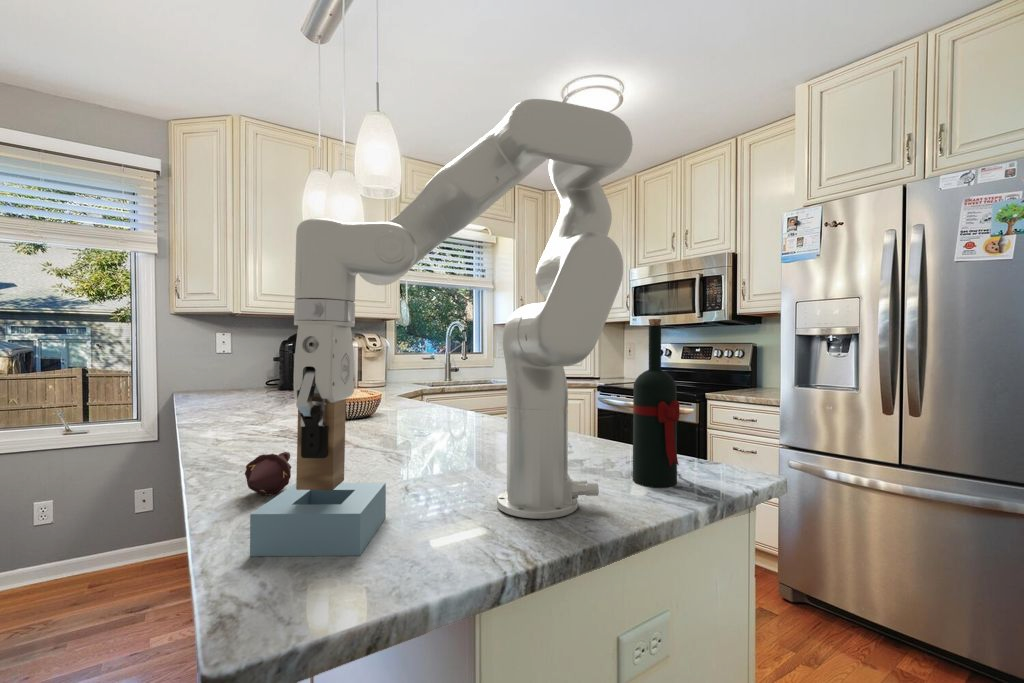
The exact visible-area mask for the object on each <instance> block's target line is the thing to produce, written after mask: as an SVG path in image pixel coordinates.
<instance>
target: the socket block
mask: <svg viewBox="0 0 1024 683" xmlns="http://www.w3.org/2000/svg"><path fill="white" fill-rule="evenodd" d="M386 485H387V483H386V482H342V483H340V484H339V485H338V486H337V487H336V488H335V489H333V490H296V483H294V484H292V485H291V486H290V487H288V488H286V489H285V490H284V491H281V493H278V494H277V495H276V496H275V497H274V498H272V499H271V500H269V501H267V502H266V503H264V504H263V505H261V506H260V507H259V508H257V509H255V510H254V511H253V512H251V513H250V516H249V557H313V556H314V557H316V556H317V557H318V556H319V557H321V556H322V557H323V556H326V557H329V556H330V557H331V556H335V557H337V556H338V557H340V556H343V557H345V556H347V557H348V556H361V555H362V553H363V552H364V550H365V549H366V547H367V546H368V544H369V543H370V541H371V540H372V538H373V536H374V535H375V533H377V531H378V529H379V528H380V526H381V525H382V523H383V522H384V521H385V518H386V516H387V513H386V511H387V509H386V508H387V507H386V506H387V505H386V503H387V502H386V501H387V500H386V498H387V494H386V492H387V491H386V488H387V486H386Z"/></svg>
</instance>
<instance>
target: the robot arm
mask: <svg viewBox="0 0 1024 683" xmlns="http://www.w3.org/2000/svg"><path fill="white" fill-rule="evenodd" d="M633 145H634V144H633V135H632V132H631V130H630V129H629V126H628V125H627V124H626V122H625V121H624V120H622V119H621V117H619V116H617V115H616V114H614V113H611V112H609V111H607V110H602V109H598V108H592V107H588V106H585V105H580V104H579V105H578V104H573V103H569V102H566V101H565V102H564V101H558V100H553V99H545V98H529V99H525V100H521V101H520V102H517V103H516V104H514V106H513V107H512V108H511V109H510V110H509V111H508V113H507V114H506V115H505V116H504V117H503V118H502V120H501V121H500V122H499V123H498V124H497V125H495V127H494V128H493V129H491V130H490V131H488V132H487V133H486V134H485V135H484V136H483V137H480V138H479V139H478V140H477V141H476V142H474V144H472V145H471V146H470V147H468V148H467V149H466V150H464V151H463V152H462V153H461V154H460V155H458V156H457V157H456V158H454V159H453V160H452V161H450V162H448V163H447V164H446V165H445V166H444V167H442V168H441V169H440V170H439V171H438V172H437V173H436V174H434V176H433V177H432V178H431V179H430V180H429V181H428V182H427V183H426V184H425V186H424V188H422V189H421V191H420V192H419V193H418V195H416V197H414V199H413V200H412V201H411V202H410V203H409V204H408V205H406V207H404V208H403V209H402V210H401V211H400V212H399V213H398V214H396V215H395V216H394V217H393V218H391V220H389V221H376V222H373V221H372V222H343V221H339V220H337V219H336V220H335V219H330V218H310V219H309V218H308V219H305V220H303V221H300V223H299V224H298V226H297V227H296V231H295V233H296V234H295V268H294V269H295V272H294V274H295V275H294V307H293V308H294V309H293V310H294V311H293V312H294V313H293V325H294V326H297V331H296V341H295V352H294V363H293V366H294V367H293V394H294V399H295V400H296V408H297V410H298V409H299V411H300V415H301V427H302V431H301V457H302V458H326V457H327V456H328V428H329V426H325V424H326V416H327V405H328V404H327V401H328V402H329V403H335V402H338V401H341V400H344V399H346V400H347V399H349V398H351V397H352V396H353V394H354V392H355V371H354V370H355V368H354V366H355V365H354V362H355V360H354V344H353V333H352V328H354V327H355V326H356V325H355V323H356V322H355V321H356V320H355V319H356V279H357V278H356V277H357V275H359V277H360V278H362V279H363V280H364V281H365V282H367V283H369V284H371V285H374V286H388V285H391V284H393V283H395V282H396V281H397V280H399V279H400V278H401V277H404V275H406V274H407V273H408V272H410V270H412V268H413V267H415V265H417V263H419V262H420V261H421V260H422V259H424V258H425V257H426V256H427V255H428V254H430V253H431V252H432V251H433V250H435V249H436V248H437V247H439V245H440V244H442V243H443V242H444V241H446V240H448V239H449V238H450V237H452V236H454V235H455V234H457V233H458V232H460V231H462V230H463V229H465V228H466V227H468V226H469V225H470V224H471V223H473V222H474V221H475V220H476V219H478V218H479V217H480V216H482V214H484V213H485V212H486V211H487V210H488V209H490V208H491V207H492V206H493V205H494V204H496V203H497V202H498V201H499V200H500V199H501V198H502V197H503V196H505V195H506V194H507V193H509V191H511V190H512V189H514V187H516V186H517V185H518V184H519V183H521V182H522V181H523V180H524V179H525V178H526V177H528V176H529V175H530V174H531V173H532V172H534V171H535V170H536V169H537V168H538V167H539V166H541V165H542V164H543V163H544V162H546V161H547V160H549V161H548V174H549V176H550V177H549V178H550V180H551V183H552V184H553V187H554V189H555V191H556V193H557V195H558V198H559V201H560V213H559V216H558V219H557V222H556V225H555V227H554V229H553V231H552V234H551V236H550V238H549V240H548V242H547V244H546V247H545V249H544V251H543V253H542V254H541V258H540V260H539V262H538V264H537V267H536V271H535V277H534V278H535V284H536V287H537V289H538V291H539V293H540V294H541V295H542V296H543V297H544V298H546V301H540V302H539V301H538V302H534V303H530V304H526V305H523V306H521V307H519V308H517V309H516V310H515V311H514V312H513V313H511V314H510V316H509V317H508V319H507V321H506V322H505V325H504V327H503V332H502V348H503V349H502V350H503V356H504V364H505V371H506V392H507V393H506V394H507V395H506V398H507V399H506V401H507V402H506V404H507V405H506V490H505V491H503V492H501V493H500V494H498V495H497V497H496V506H497V508H498V509H499V510H500V511H501V512H503V513H505V514H507V515H509V516H513V517H518V518H523V519H533V520H534V519H535V520H538V519H539V520H544V519H545V520H546V519H555V518H561V517H564V516H568V515H570V514H573V513H574V512H575V511H576V510H577V509H578V503H579V502H578V501H579V500H578V497H579V496H586V497H598V496H599V489H600V488H599V483H598V482H588V480H573V478H571V477H570V475H569V472H568V465H569V464H568V463H569V462H568V460H569V459H568V456H569V455H568V454H569V453H568V452H569V451H568V450H569V449H568V447H569V445H568V443H569V442H568V438H569V437H568V436H569V435H568V434H569V433H568V432H569V426H568V425H569V424H568V423H569V422H568V421H569V420H568V418H569V416H568V414H569V411H568V409H569V389H568V382H567V377H566V376H567V375H566V372H565V367H570V366H574V365H577V364H579V363H581V362H583V361H584V360H585V359H586V358H587V357H588V356H589V355H590V354H591V352H593V350H594V349H595V346H596V344H597V343H598V340H599V339H600V335H601V334H602V331H603V329H604V326H605V324H606V322H607V319H608V317H609V315H610V312H611V310H612V307H613V305H614V302H615V300H616V298H617V295H618V293H619V290H620V287H621V284H622V281H623V275H624V261H623V260H624V259H623V255H622V253H621V250H620V248H619V246H618V244H616V241H614V240H613V239H612V238H611V237H609V236H608V235H609V232H610V229H611V224H612V221H613V219H612V218H613V217H612V214H613V213H612V209H611V205H610V203H609V201H608V198H607V196H606V194H605V191H604V189H603V187H602V185H601V183H600V181H601V180H603V179H604V178H607V177H609V176H610V175H612V174H614V173H616V172H617V171H618V170H620V169H621V168H622V167H623V166H625V164H626V163H627V162H628V160H629V158H630V156H631V155H632V154H631V153H632V151H633ZM312 397H321V398H322V401H312ZM317 407H320V412H318V410H317Z"/></svg>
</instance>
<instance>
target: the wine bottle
mask: <svg viewBox="0 0 1024 683" xmlns="http://www.w3.org/2000/svg"><path fill="white" fill-rule="evenodd" d="M661 323H662V319H661V318H650V319H648V324H649V325H648V369H646V370H645V371H643V372H642V373H641V374H639V375H638V376H637V377H636V379H635V381H634V383H633V396H632V398H633V399H632V400H633V403H632V405H633V407H632V409H633V410H632V411H633V412H632V417H633V418H632V423H633V424H632V426H633V427H632V481H633V482H634V484H637V485H640V486H642V487H647V488H653V489H669V488H672V487H676V486H677V484H678V466H679V465H680V464H679V461H678V428H677V427H678V423H679V420H680V403H679V400H678V399H677V390H678V389H677V387H678V386H677V384H676V382H675V381H676V380H674V378H673V377H672V375H670V374H669V373H667V372H666V371H665V370H662V325H661Z"/></svg>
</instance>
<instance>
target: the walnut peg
mask: <svg viewBox="0 0 1024 683" xmlns="http://www.w3.org/2000/svg"><path fill="white" fill-rule="evenodd" d="M312 401H322V398H321V397H312ZM346 403H347V399H344V400H341V401H338V402H335V403H329V402H328V401H327V404H328V405H327V416H326V424H325V426H329V428H328V456H327V457H326V458H302V457H301V431H302V427H301V415H300V411H299V409H298V408H297V434H296V438H297V441H296V481H295V482H296V490H333V489H335V488H336V487H337V486H338V485H339V484H340V483H344V481H345V460H346V458H345V457H346V453H345V452H346V411H347V410H346V408H347V407H346V406H347V404H346ZM317 410H318V412H320V407H317Z"/></svg>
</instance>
